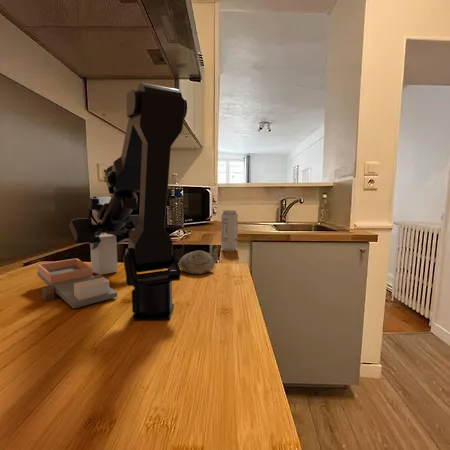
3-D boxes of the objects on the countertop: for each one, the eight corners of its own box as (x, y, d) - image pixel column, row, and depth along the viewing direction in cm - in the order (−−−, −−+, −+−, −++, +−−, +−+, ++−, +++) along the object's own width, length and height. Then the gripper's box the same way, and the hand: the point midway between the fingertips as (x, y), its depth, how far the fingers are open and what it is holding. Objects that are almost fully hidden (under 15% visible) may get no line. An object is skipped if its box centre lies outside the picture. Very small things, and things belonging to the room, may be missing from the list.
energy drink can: (239, 251, 112) (239, 211, 110) (223, 252, 111) (223, 211, 109) (234, 248, 118) (235, 210, 116) (219, 249, 117) (219, 210, 115)
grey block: (117, 271, 83) (116, 235, 82) (99, 275, 80) (98, 237, 79) (109, 268, 87) (107, 233, 86) (91, 271, 83) (89, 235, 82)
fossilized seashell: (170, 266, 84) (178, 242, 85) (188, 270, 94) (196, 248, 94) (202, 278, 80) (211, 253, 80) (218, 281, 89) (225, 258, 90)
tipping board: (117, 296, 64) (117, 280, 63) (73, 308, 57) (73, 290, 56) (76, 268, 77) (76, 254, 77) (37, 275, 71) (37, 260, 70)
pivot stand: (105, 286, 71) (105, 276, 71) (46, 301, 62) (45, 289, 62) (100, 284, 73) (100, 274, 73) (42, 298, 64) (41, 287, 63)
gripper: (139, 186, 85) (121, 222, 94) (69, 185, 71) (55, 227, 80) (157, 215, 80) (136, 251, 89) (85, 220, 67) (69, 261, 75)
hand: (101, 247), depth 84 cm, fingers closed on grey block, 5 cm apart
